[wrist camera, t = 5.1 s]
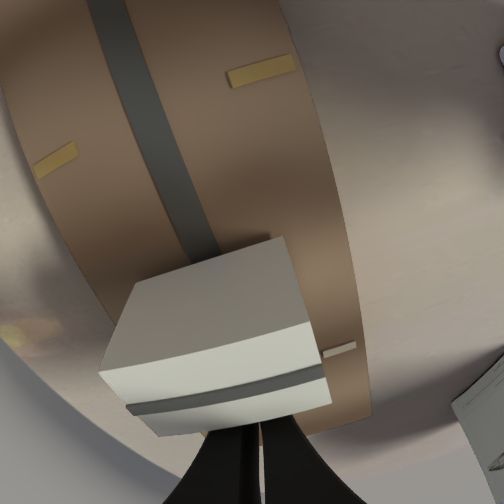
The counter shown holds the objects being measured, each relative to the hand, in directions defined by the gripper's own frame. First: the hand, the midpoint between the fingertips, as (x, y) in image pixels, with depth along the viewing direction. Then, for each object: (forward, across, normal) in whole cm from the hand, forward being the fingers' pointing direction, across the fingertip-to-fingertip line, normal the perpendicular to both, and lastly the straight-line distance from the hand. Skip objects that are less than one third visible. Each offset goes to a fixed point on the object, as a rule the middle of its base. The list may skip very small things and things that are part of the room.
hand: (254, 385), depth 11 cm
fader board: (+3, +1, -6) cm, 7 cm away
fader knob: (+1, 0, -3) cm, 4 cm away
